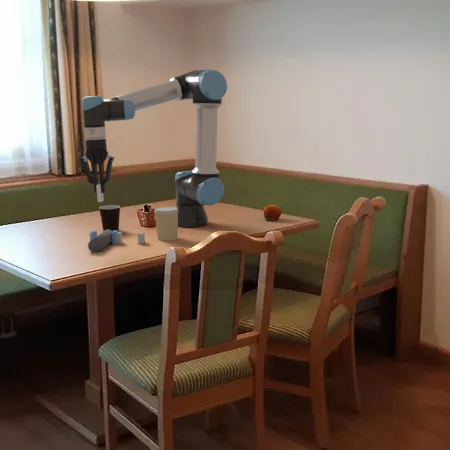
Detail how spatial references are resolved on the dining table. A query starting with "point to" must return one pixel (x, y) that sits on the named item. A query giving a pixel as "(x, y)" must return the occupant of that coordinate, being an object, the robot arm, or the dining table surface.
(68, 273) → the dining table surface
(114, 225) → the coffee mug
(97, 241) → the dark gray cylinder
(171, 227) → the coffee cup
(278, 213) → the fruit
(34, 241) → the dining table surface
